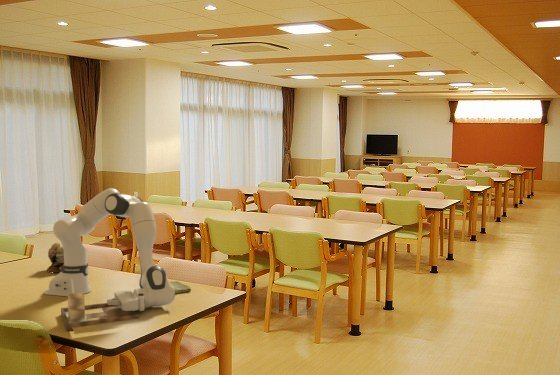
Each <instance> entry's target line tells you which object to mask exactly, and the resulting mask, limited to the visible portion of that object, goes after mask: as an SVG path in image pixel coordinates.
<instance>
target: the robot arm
mask: <svg viewBox="0 0 560 375" xmlns="http://www.w3.org/2000/svg"><path fill="white" fill-rule="evenodd" d="M109 215H111V216H117V217H121V218H129V219H130V224H131V228H132V233H133V237H134V240H135V245H136V247H137V252H138V258H139V260H138V261H139V265H140V278H139V283H138V284H139V287H140V288H135V289H134V290H133V291H130V290H122V291H121V290H120V291H115V292H114V294H113V295H114V297H113V298H109V299H107V300H106V303H107V304H108V305H119V306H120V308H121V309H122V310H123V311H134V312H135V311H139V312H142V311H145V309H147V308H150V307H156V308H157V307H162V306H167V305H170V304H172V302H174V300H175V297H176V294H175V288H174V286H172V285H171V283H170V282H171V281H170V280H169V279H168V276H167V273H166V271H165V269H164V268H163V267H162V266H158V265H155V263H154V257H153V249H154V245H155V242H156V239H157V233H158V231H157V222H156V218H155V215H154V212H153V210H152V207H151V205H150V203H148V202H146V201H144V199H142V198H141V197H138V196H134V195H132V194H126V193H121V192H120V191H119V190H117V189H116V188H113V187H109V188H106V189H104V190H102V191H101V192H100V193H98V194H96V195H95V196H93V198H91V199H90V200H89V201H88V202H86V203H85V204H84V205H83V206H82V208H81V211H80V212H79V213H76V214H74V215H71V216H70V215H69V216H65V217H62V218H60V219H59V220H57V221H55V223H54V224H53V227H52V232H53V235H55V237H56V238H58V240H59V241H60V244H61V245H62V247H63V251H64V264H63V265H62V266H61V267H59V268H60V269H61V272H60V273H58V274H56V275H55V276H54V277H53V278H51V280H50V281H49V283H48V288H46V289H45V290H44V291H43V295H48V296H49V295H50V296H59V297H68V294H73V293H82V292H83V294H84V295H85V294H87V293H90V292H91V291H92V289H91V284H90V281H89V270H90V269H89V263H88V248H87V247H86V246H85V245H84V244H83V242H82V239H81V238H82V237H83V236H86V235H89V234H90V233H91V232H93V231H94V230H95V228H96V226H97V225H98V223H100V222H101V221H102V220H104V219H105V218H106V217H108V216H109Z"/></svg>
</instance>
